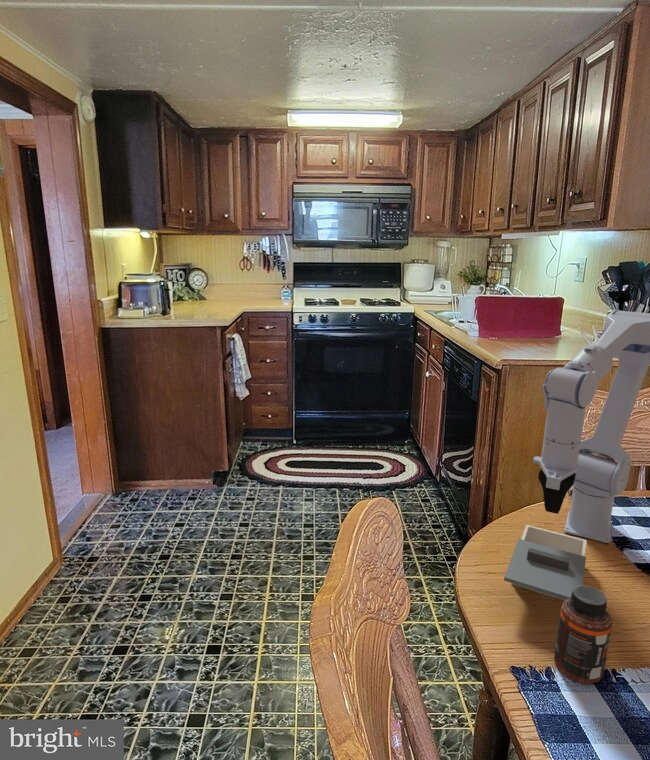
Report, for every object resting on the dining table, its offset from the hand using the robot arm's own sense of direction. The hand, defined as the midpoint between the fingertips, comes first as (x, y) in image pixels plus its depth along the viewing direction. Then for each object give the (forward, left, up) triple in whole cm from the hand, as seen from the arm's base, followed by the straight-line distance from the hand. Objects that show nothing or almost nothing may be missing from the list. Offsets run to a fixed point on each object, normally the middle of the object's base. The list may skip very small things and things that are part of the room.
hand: (552, 510), depth 90 cm
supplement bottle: (+25, +7, -10) cm, 28 cm away
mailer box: (+5, +1, -9) cm, 11 cm away
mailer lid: (+12, +1, -4) cm, 13 cm away
